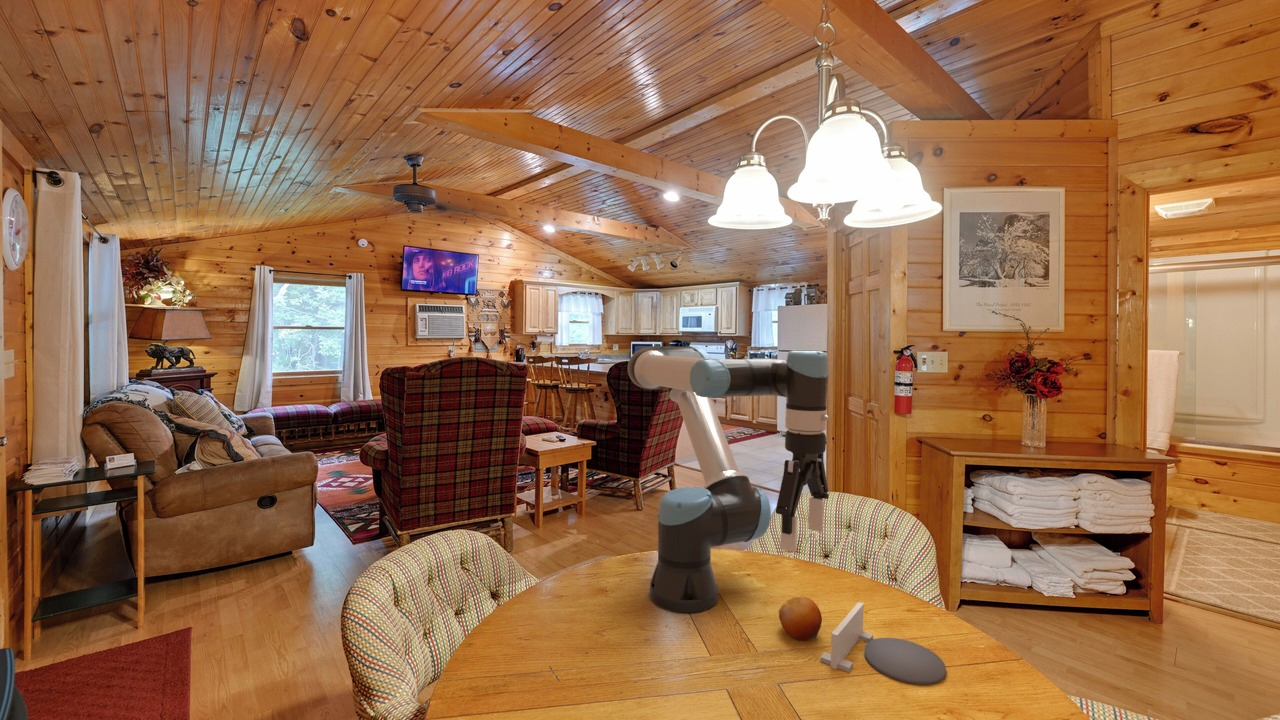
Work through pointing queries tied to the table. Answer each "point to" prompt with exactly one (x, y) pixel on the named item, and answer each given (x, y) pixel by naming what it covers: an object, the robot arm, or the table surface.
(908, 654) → the mat
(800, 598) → the fruit
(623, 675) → the table surface
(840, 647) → the wall
